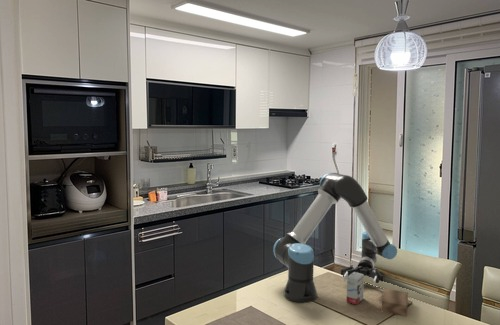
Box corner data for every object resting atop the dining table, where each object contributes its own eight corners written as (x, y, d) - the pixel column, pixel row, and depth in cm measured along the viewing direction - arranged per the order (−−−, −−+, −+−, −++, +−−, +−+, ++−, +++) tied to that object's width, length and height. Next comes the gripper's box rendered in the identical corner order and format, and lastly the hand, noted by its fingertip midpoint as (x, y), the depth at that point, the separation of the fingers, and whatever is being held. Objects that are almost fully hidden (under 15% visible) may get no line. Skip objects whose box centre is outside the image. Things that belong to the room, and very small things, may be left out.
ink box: (356, 305, 171) (357, 279, 170) (346, 302, 174) (346, 277, 173) (363, 298, 178) (364, 273, 176) (353, 295, 180) (354, 271, 179)
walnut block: (381, 312, 165) (381, 301, 164) (384, 299, 178) (384, 288, 177) (406, 317, 161) (406, 305, 160) (407, 303, 174) (407, 292, 173)
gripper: (390, 277, 196) (386, 293, 176) (341, 269, 206) (332, 284, 187) (391, 262, 195) (387, 277, 176) (341, 255, 205) (332, 269, 186)
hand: (359, 281), depth 181 cm, fingers open, 13 cm apart
